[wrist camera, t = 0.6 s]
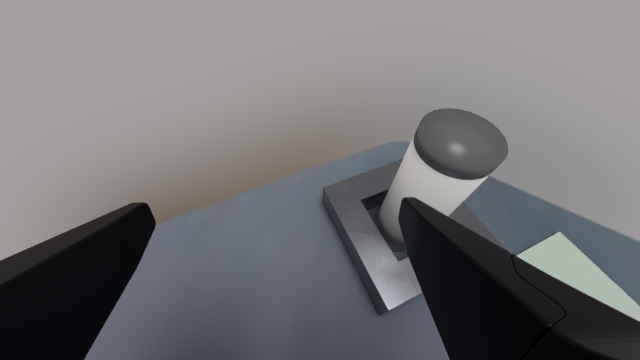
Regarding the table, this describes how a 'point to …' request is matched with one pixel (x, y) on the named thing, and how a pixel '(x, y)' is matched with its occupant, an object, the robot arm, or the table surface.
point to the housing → (367, 242)
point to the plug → (442, 166)
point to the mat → (578, 272)
